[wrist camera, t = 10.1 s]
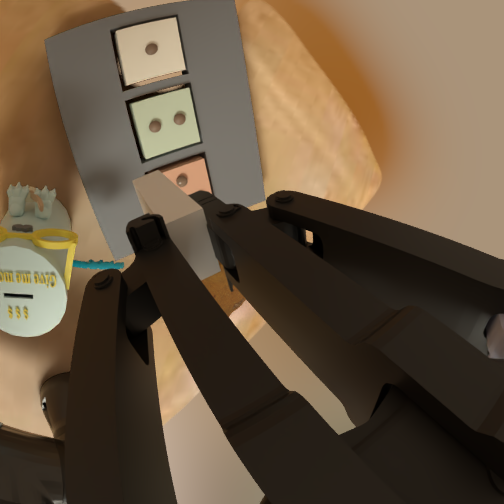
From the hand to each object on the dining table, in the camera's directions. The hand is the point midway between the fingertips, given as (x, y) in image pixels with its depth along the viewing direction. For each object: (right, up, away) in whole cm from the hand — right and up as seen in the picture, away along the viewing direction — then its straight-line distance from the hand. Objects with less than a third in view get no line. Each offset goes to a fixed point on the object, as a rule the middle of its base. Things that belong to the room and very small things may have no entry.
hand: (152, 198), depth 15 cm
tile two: (-5, +11, +14) cm, 19 cm away
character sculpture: (-19, +1, +12) cm, 23 cm away
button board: (-5, +11, +14) cm, 19 cm away
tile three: (-3, +5, +19) cm, 20 cm away
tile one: (-6, +18, +10) cm, 21 cm away
